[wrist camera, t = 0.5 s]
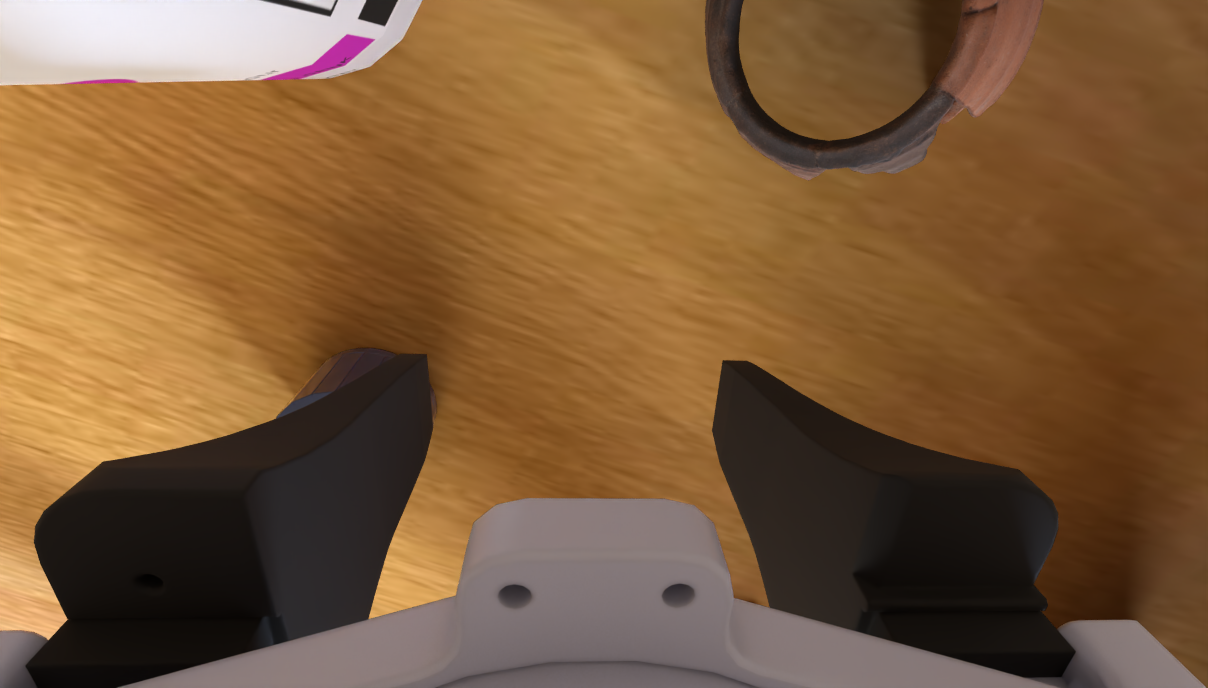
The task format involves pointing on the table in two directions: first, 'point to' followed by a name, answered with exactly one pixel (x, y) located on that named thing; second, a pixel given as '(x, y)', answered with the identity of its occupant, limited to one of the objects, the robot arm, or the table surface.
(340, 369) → the cup
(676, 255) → the table surface
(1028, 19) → the pottery mug
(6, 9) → the supplement can
